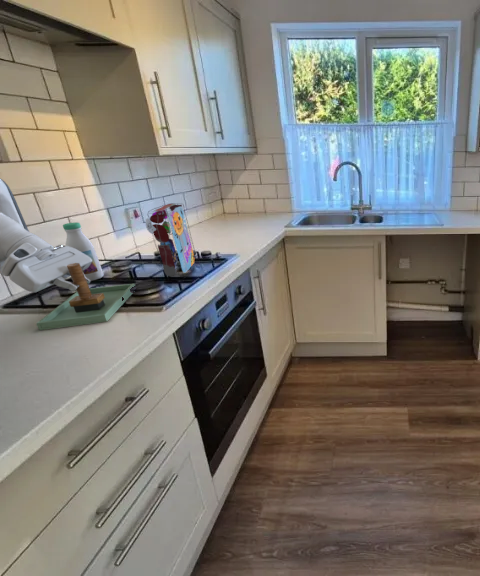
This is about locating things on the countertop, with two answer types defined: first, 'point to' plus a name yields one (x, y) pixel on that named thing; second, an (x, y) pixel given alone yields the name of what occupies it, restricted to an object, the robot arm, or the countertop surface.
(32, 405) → the countertop surface
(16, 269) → the robot arm
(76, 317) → the tray
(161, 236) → the box
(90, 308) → the stamp
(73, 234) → the milk bottle
